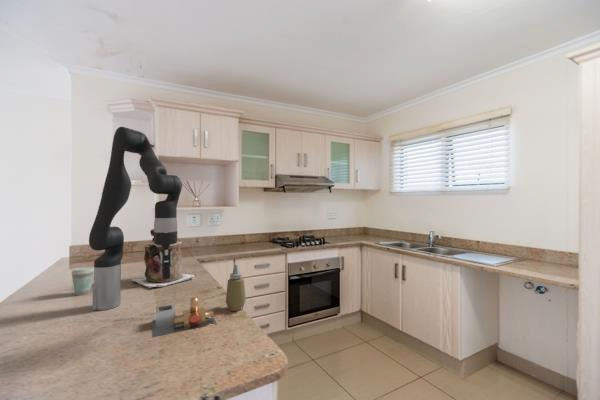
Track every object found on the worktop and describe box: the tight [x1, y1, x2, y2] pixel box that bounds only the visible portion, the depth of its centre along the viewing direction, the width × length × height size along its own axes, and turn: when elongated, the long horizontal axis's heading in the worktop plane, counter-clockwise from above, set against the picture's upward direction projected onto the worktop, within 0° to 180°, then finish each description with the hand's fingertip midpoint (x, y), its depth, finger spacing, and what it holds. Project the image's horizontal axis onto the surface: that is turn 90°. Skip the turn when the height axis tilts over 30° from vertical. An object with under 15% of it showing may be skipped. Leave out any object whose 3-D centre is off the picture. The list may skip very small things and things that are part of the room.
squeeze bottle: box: [225, 264, 247, 312], centre depth 111 cm, size 8×8×18 cm
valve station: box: [151, 296, 218, 338], centre depth 97 cm, size 20×14×10 cm
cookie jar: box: [131, 228, 196, 289], centre depth 152 cm, size 25×25×32 cm
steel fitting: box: [155, 303, 176, 328], centre depth 96 cm, size 6×6×5 cm
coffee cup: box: [71, 266, 94, 296], centre depth 130 cm, size 9×9×12 cm
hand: (165, 275), depth 97 cm, fingers open, 8 cm apart
